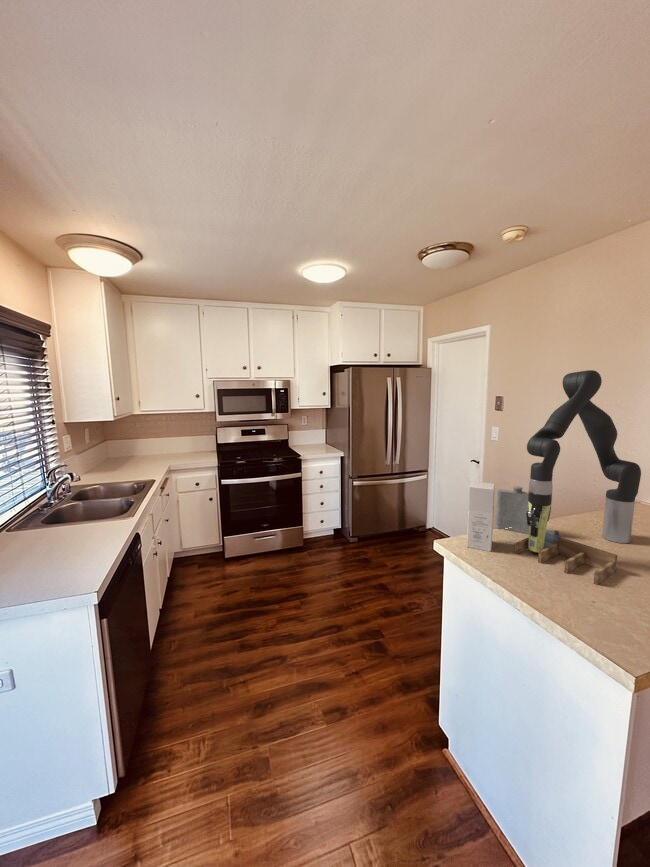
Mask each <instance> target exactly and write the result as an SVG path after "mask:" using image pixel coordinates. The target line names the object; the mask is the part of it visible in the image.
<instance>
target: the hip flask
mask: <svg viewBox="0 0 650 867" xmlns="http://www.w3.org/2000/svg"><path fill="white" fill-rule="evenodd" d="M512 488H513V490H509V489H508V490H507V489H497V490H496V504H495V526H494V527H495V529H496V530H501V529H504V530H503V531H509V532H514V533H520V534H524V535H528V536H529V526H528V525H527V516H526V512H527V511H529V503H528V493H529V492H528V491H523V487H522V486H519V485H513V487H512ZM509 527H512V528H509ZM505 528H508V529H505Z"/></svg>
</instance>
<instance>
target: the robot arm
mask: <svg viewBox="0 0 650 867" xmlns="http://www.w3.org/2000/svg"><path fill="white" fill-rule="evenodd" d="M602 382H603V381H602V377H601V374H600V373H599V372H598V371H597V370H594V369H593V370H592V369H589V370H581V371H575V372H574V371H573V372H570V373H569V372H568V373H567V374H565V375H564V377H563V378H562V387H563V388H562V389H563V390H564V393H565V395H566V396H567V401H565V402H564V403H562V404H561V405H560V406H559V407H557V408H556V409H555V410H554V411H553V412H552V413H551V414H550V416H549V417H548V419H547V421H546V422H545V424H544V426H542V427H541V428H540V429H539V430H538V431H537V432H535V433H534V434H533V435H532V436H531V437H530V438H529V440H528V441H527V443H526V450H527V451H526V452H527V453H528V454H529V455H531V456H533V457H538V458H539V457H540V458H543V460H542V461H541V462H534V463H532V464H531V466H530V474H529V475H530V476H529V483H528V492H527V493H528V502H529V503H531V504H532V507H531V511H530V512H529V511H527V512H526V516H527V525H528V526H531V533H530V535H531V536H533V537H537V535H538V524H539V522H540V521H541V518H542V515H543V512H544V511H543V510H542V506H549V505H551V507H550V511H549V516H548V521H547V523H548V522H549V520H550V517H551V516H550V515H551V512H552V500H553V488H554V487H553V476H554V475H553V473H554V468H555V466H556V463H557V460H558V458H559V456H560V454H561V446H560V443H559V441H557V440H559V439H561V438H563V437H564V435H565V434H566V432H567V430H568V429H569V427H570V425H571V424H572V423H573V421H574V419H575V418H576V417H577V415H578V416H579V418H580V420H581V422H582V424H583V427H584V430H585V431H586V434H587V437H588V439H590V442H591V444H592V446H593V448H594V451H595V453H596V455H597V456H596V457H597V459H598V461H599V462H598V463H599V465H600V468H601V469H600V470H601V471H602V474H603V476H604V477H605V478H607V479H608V481H609V480H610V481H612V482H615V483H617V484H618V485H617V488H612V489H611V488H610V489H607V490H606V492H605V501H604V512H603V524H602V532H601V533H602V534H601V537H602V538H603V539H604V540H608V541H610V542H614V543H617V544H618V543H619V544H630V543H631V541H632V540H631V539H632V532H633V523H634V522H633V521H634V511H635V505H636V504H635V503H636V502H635V501H636V497H637V496H638V492H639V488H640V483H641V479H642V478H641V476H642V469H641V467H640V465H639V464H638V463H636V462H634V461H628V460H623V459H620V458H619V457H618V455H617V453H616V450H615V448H614V446H615V444H616V441H617V438H618V430H617V428H616V425H615V422H614V421H613V419H612V417H611V416H610V415H609V414H608V413H607V412H606V411H604V410H603V409H602V408H600V407H599V406H598V405H596V404H595V403H594V402H592V401H591V400H592V398H593V397H595V395H596V394H597V393H598V391H600V388H601V386H602ZM535 518H538V519H535ZM535 521H536V523H535Z"/></svg>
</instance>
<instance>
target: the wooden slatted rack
mask: <svg viewBox="0 0 650 867" xmlns="http://www.w3.org/2000/svg"><path fill="white" fill-rule="evenodd" d="M514 544H515V545H514V554H516V555H517V554H520V553H522V552H525V551H526V550H529V548H528V544H529V536H528V537H526V538H524V539H522V540H519V541H517V542H515V543H514ZM557 555H561V556H563V557H567V558H568V559H567V560H566V559H565V561H564V569H563V572H564V573H565V574H569V573H571V572H573V571H574V570H576V569H577V568H579V567H581V566H582V565H583V564H587V565H589V566H592V567H595V568H598V569H596V570H595V571H594V576H593V584H594V585H596V586H598V585H600V583H602V582H604V581H605V580H606V579H608V578H609V577H610V576H612V575H613V574H615V573H616V572H617V564H618V554H615V553H612V552H608V551H606V550H602V549H599V548H596V547H593V546H591V545H586V544H584V543H581V542H577V541H574V540H571V539H568V538H564V537H562V534H561V533H560V531H559V530H554V531H550V530H548V529H546V534H545V541H544V549H543V550H541V551H539V552H538V558H537V562H538V563H540V564H542V563H544V562H546V561H548V560H549V559H551V558H554V557H555V556H557Z"/></svg>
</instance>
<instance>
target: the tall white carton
mask: <svg viewBox="0 0 650 867" xmlns="http://www.w3.org/2000/svg"><path fill="white" fill-rule="evenodd" d="M468 490H469V491H468V492H469V493H468V510H467V512H468V513H467V531H466V533H467V534H466V537H467V538H466V548H469V549H473V550H474V549H476V550H481V551H485V552H492V546H493V535H494V533H493V532H494V531H493V530H494V513H495V493H496V491H495V490H496V483H493V482H483V481H482V482H481V481H471V483H470V484H469V489H468Z"/></svg>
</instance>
